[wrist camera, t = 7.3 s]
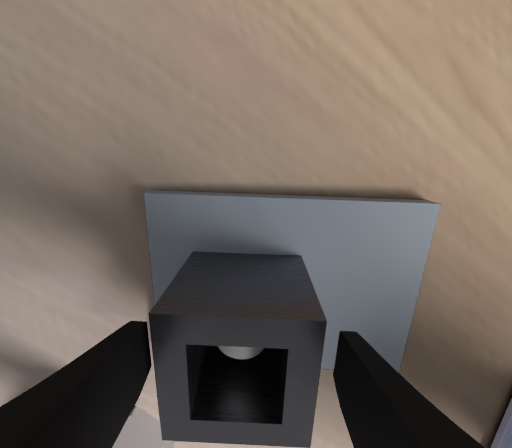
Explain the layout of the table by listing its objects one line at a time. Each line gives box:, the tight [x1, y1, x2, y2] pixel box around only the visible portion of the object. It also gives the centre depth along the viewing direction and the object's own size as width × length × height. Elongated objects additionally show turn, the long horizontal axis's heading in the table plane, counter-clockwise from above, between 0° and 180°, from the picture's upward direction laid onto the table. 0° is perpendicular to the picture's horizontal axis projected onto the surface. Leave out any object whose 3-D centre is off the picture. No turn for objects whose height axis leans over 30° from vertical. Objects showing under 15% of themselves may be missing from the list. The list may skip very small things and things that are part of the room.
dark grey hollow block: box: [149, 251, 327, 448], centre depth 11 cm, size 6×6×5 cm
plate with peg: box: [144, 190, 441, 373], centre depth 12 cm, size 14×10×4 cm
